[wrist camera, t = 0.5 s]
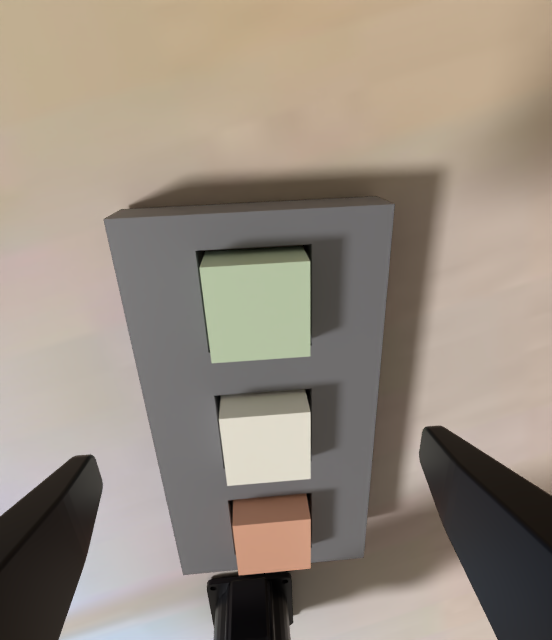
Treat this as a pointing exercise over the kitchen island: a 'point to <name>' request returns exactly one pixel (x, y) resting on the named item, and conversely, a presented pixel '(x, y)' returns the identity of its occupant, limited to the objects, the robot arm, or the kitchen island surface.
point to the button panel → (257, 375)
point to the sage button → (257, 303)
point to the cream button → (266, 436)
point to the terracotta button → (272, 534)
